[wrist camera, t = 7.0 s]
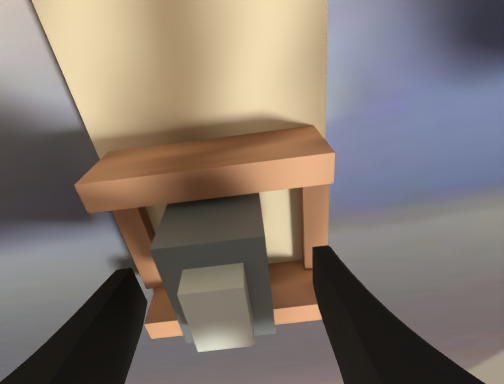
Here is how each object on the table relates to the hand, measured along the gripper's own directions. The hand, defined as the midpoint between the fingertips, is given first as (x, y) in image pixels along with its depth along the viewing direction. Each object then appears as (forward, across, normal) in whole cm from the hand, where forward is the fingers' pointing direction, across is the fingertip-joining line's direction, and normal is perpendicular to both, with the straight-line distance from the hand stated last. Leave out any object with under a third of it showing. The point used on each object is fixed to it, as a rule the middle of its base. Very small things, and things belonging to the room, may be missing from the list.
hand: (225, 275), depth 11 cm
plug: (+4, 0, 0) cm, 4 cm away
